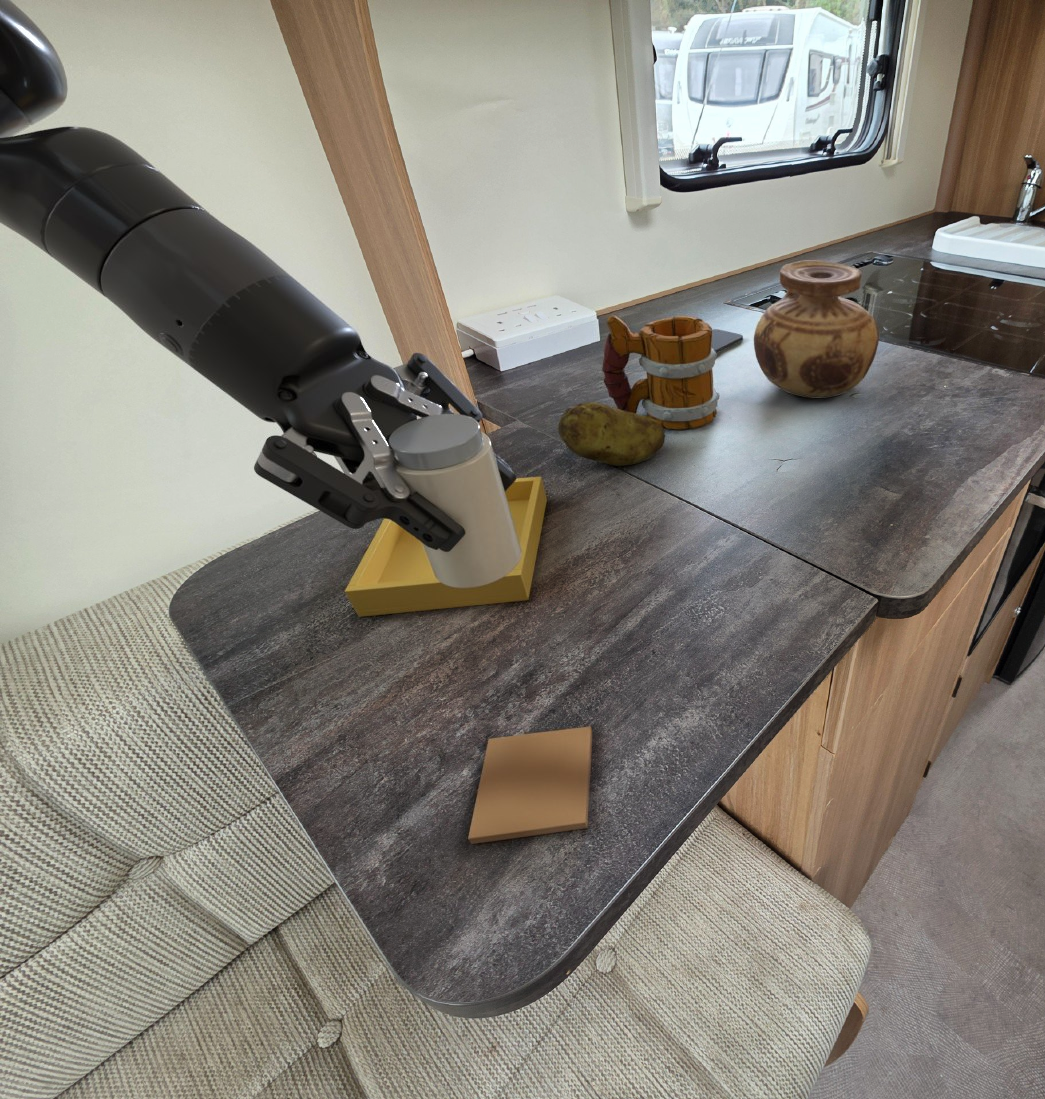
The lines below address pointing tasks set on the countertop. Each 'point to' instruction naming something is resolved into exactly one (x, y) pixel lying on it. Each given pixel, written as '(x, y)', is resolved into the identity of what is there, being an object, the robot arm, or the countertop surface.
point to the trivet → (533, 785)
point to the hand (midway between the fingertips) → (484, 512)
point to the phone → (724, 339)
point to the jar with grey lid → (460, 495)
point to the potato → (610, 434)
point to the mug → (664, 370)
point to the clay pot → (816, 332)
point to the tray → (409, 582)
